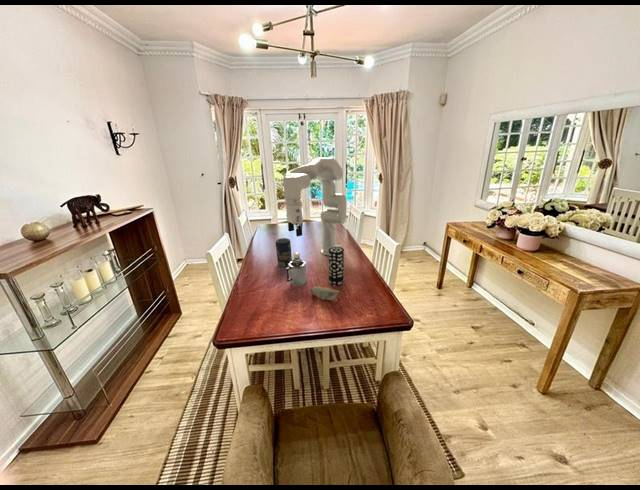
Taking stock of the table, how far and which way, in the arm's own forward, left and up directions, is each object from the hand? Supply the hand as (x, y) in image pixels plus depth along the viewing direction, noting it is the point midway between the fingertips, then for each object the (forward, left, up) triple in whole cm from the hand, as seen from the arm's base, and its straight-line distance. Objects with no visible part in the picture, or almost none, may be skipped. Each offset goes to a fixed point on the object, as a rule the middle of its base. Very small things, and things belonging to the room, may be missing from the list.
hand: (295, 233), depth 132 cm
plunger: (0, 0, -27) cm, 27 cm away
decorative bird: (-4, +23, -30) cm, 38 cm away
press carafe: (+1, 0, -30) cm, 30 cm away
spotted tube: (-18, +12, -30) cm, 37 cm away
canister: (-3, -26, -30) cm, 40 cm away
